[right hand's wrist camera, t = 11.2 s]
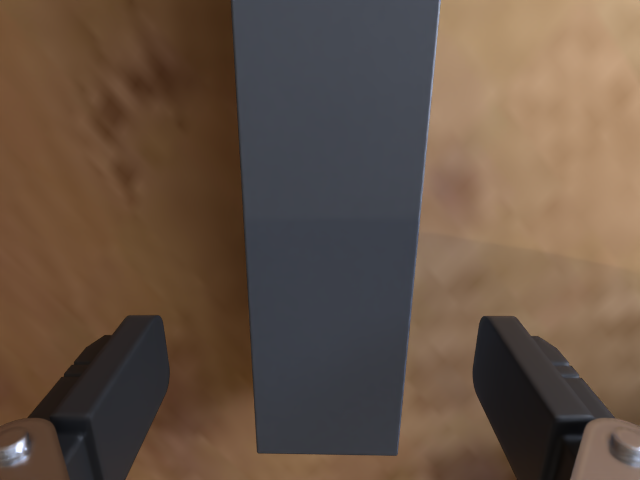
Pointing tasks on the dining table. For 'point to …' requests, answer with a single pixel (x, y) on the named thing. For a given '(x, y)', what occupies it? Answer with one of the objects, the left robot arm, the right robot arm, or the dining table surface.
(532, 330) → the dining table surface
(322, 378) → the bar
